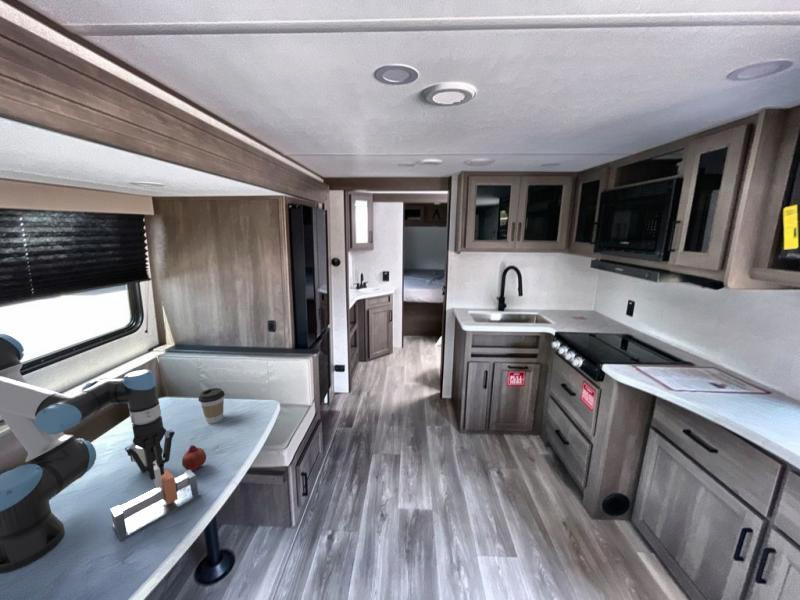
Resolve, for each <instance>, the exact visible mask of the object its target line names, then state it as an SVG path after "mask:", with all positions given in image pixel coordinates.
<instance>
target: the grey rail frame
mask: <svg viewBox="0 0 800 600" xmlns="http://www.w3.org/2000/svg"><path fill="white" fill-rule="evenodd" d="M174 478H175V485H176V491H177V497H178V499H177V500H175V501H174V502H172V503H170V504H168V505H167V504H166V502H165V501H164V500H163V499H164V498H165V492H164V488H163V487H160V488H158V489H157V487H156V488H153V489H151V490H150V491H147V492H146V493H144V494H141V495H139V496H138V497H136V498H134V499H131V500H129V501H128V502H126V503H123V504H121V505H119V504H118V505H116V506H113V507H111V508H110V514H111V518H112V519H111V520H112V522H113V523H112V528H113V531H114V532H115V534H116V536H117V537H118V539H119V541H120V543H122V542H124V541H126V540H128V539H129V538H131V537H132V536H133V537H134V536H135V535H136V534H138V533H140V532H141V531H143V530H145V529H148V528H149V527H151V526H152V525H154V524H155V523H158V522H159V521H162V519H165V518H166V517H168V516H170V515H171V514H173V513H175V512H177V511H179V510H180V509H182V508H183V507H185V506H187V505H189V504H191V503H192V502H194V501H196V500H198V499H199V498H202V495H201V493H200V492H199V489H198V482H197V475H196V474H195V473H194V472H193V471H191V470H185V471H184V472H183V474H182V475H181V474H180V475H179V476H177V477H174Z"/></svg>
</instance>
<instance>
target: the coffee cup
mask: <svg viewBox="0 0 800 600" xmlns="http://www.w3.org/2000/svg"><path fill="white" fill-rule="evenodd" d="M225 395H226V393H225V391H223V390H222V388H219V387H214V388H209V389H205V390H204V391H202V392H200V395H199V396H198V402H200V405H201V409H202V411H203V415H204V418H205V419H204V420H205V421H206V424H209V425H213V424H218V423H220V422H221V421H223V420H224V405H225V404H224V402H225V401H224V400H225V397H224V396H225Z"/></svg>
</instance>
